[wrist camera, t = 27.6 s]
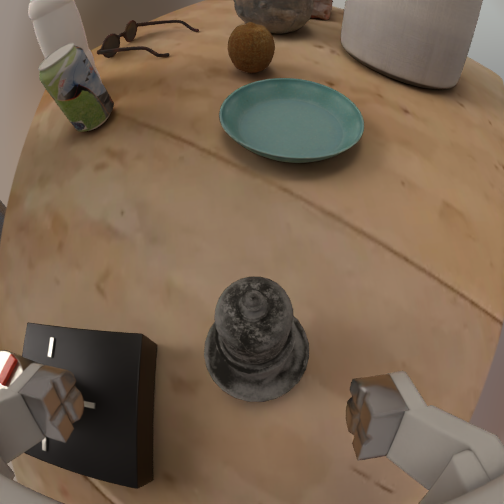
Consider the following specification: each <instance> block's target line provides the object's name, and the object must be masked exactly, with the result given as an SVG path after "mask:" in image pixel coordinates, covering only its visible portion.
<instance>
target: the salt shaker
mask: <svg viewBox="0 0 504 504" xmlns="http://www.w3.org/2000/svg"><path fill="white" fill-rule="evenodd" d="M204 357H205V362H206V367H207V370H208V371H209V373H210V375H211V377H212V379H213V381H214V382H215V383H216V384H217V385H218V386H219V387H220V388H221V389H222V390H223V391H225V392H226V393H228V394H230V395H231V396H233V397H234V398H238V399H241V400H245V401H248V402H264V401H268V400H272V399H276V398H278V397H280V396H282V395H283V394H285V393H287V392H289V391H290V390H291V389H292V388H293V387H294V386H295V385H296V384H297V383H298V382H299V381H300V379H301V377H302V376H303V374H304V372H305V370H306V367H307V363H308V359H309V343H308V339H307V336H306V333H305V330H304V329H303V327H302V326H301V324H300V322H299V321H298V320H297V319H296V318H295V317H294V316H293V308H292V304H291V301H290V298H289V297H288V295H287V293H286V292H285V290H284V289H283V288H282V287H281V286H280V285H278V284H277V283H276V282H274V281H272V280H270V279H267V278H263V277H247V278H243V279H240V280H238V281H236V282H234V283H232V284H231V285H230V286H229V287H227V288H226V289H225V290H224V292H223V293H222V295H221V296H220V297H219V300H218V303H217V305H216V309H215V322H214V324H213V325H212V327H211V328H210V330H209V332H208V335H207V338H206V341H205V349H204Z"/></svg>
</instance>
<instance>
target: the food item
mask: <svg viewBox="0 0 504 504" xmlns="http://www.w3.org/2000/svg"><path fill="white" fill-rule="evenodd" d="M332 2H333V1H332V0H314V4H313V12H312V15H311V17H310V18H316V19H323V20H328V19H329V16H330V14H331V10H332Z"/></svg>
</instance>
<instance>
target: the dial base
mask: <svg viewBox="0 0 504 504" xmlns="http://www.w3.org/2000/svg"><path fill="white" fill-rule="evenodd" d="M156 352H157V344H156V343H154V342H153V341H151V340H150V339H149V338H147V337H146V336H145V335H143V334H139V333H123V332H110V331H98V330H87V329H77V328H67V327H59V326H50V325H43V324H35V323H27V328H26V334H25V340H24V346H23V353H22V357H24V358H27V359H30V360H32V361H35V362H38V363H40V364H43V365H48V366H52V367H56V368H61V369H65V370H69V371H71V372H72V373H73V375H74V377H75V379H76V384H75V387H76V388H77V389H78V390H79V391H80V392H81V394H82V396H83V400H84V410H83V414H82V416H81V418H80V419H79V420H78V421H76V422H74V423H73V427H74V430H73V431H72V433H71V435H70V436H69V438H68V440H67V441H66V443H64V442H61V441H57V440H54V439H51V438H48V437H45V439H43V440H42V441H40V442H39V443H37V444H36V445H34V446H33V447H31V448H30V449H28V450H27V451H25V452H24V453H26V454H28V455H30V456H33V457H35V458H37V459H40V460H42V461H45V462H47V463H50V464H53V465H55V466H58V467H61V468H64V469H66V470H69V471H72V472H75V473H78V474H82V475H85V476H88V477H92V478H95V479H99V480H102V481H106V482H110V483H114V484H118V485H122V486H127V487H131V488H136V489H138V488H140V487H142V486H144V485H146V484H147V483H149V482H151V481H153V480H154V479H153V413H154V386H155V368H156Z"/></svg>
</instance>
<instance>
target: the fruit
mask: <svg viewBox="0 0 504 504" xmlns="http://www.w3.org/2000/svg"><path fill="white" fill-rule="evenodd" d="M274 50H275V44H274V40H273V36H272V35H271V33H270V32H269V31H268V30H267V28H266V27H265V26H262V25H258V24H255V23H253V22H248V23H246V24H245V25H241V26H238V27H236V28H235V30H234V31H233V32H232V34H231V36H230V38H229V41H228V52H229V56H230V58H231V60H232V62H233V64H234V65H235V67H236V68H237V69H239V70H241V71H244V72H247V73H256V72H259V71H262V70H264V69H265V68H267V67H268V66H269V64H270V62H271V61H272V58H273V55H274Z"/></svg>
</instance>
